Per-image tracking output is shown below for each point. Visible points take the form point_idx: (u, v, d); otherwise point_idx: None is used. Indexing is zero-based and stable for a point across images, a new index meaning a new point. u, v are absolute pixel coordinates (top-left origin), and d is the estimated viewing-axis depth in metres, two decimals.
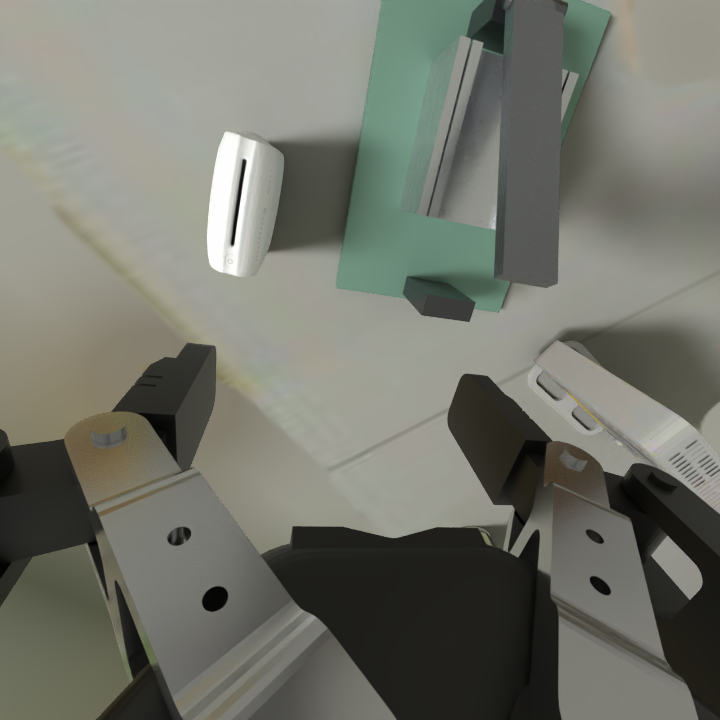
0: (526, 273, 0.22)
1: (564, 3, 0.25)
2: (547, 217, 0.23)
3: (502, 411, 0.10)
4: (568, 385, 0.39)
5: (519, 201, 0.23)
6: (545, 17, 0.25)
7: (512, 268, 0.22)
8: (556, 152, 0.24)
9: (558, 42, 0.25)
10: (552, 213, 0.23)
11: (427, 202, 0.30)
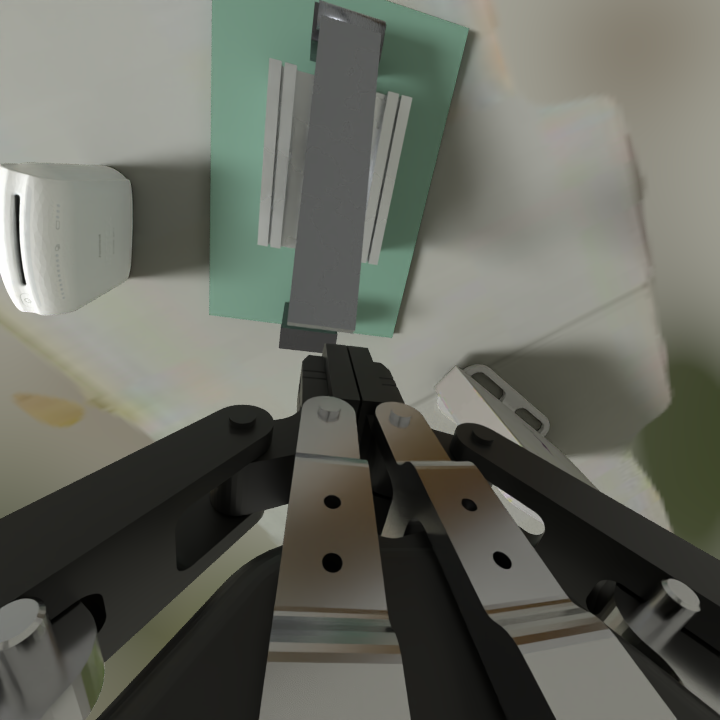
0: (316, 320, 0.21)
1: (381, 23, 0.23)
2: (347, 257, 0.21)
3: (357, 377, 0.10)
4: (454, 417, 0.37)
5: (312, 241, 0.21)
6: (358, 39, 0.23)
7: (299, 315, 0.20)
8: (362, 186, 0.22)
9: (373, 66, 0.23)
10: (353, 253, 0.21)
11: (266, 232, 0.28)
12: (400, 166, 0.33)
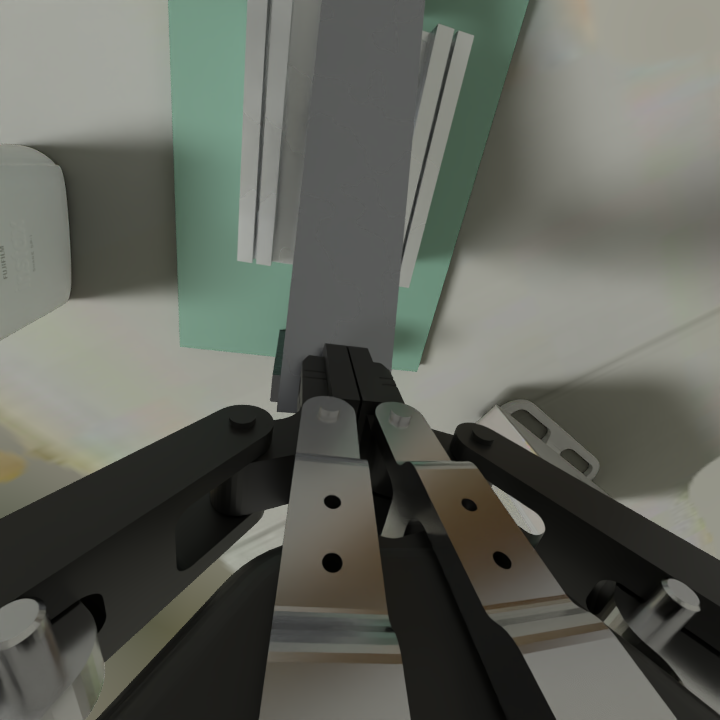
0: None
1: None
2: (375, 300, 0.13)
3: (357, 377, 0.10)
4: None
5: (318, 274, 0.13)
6: None
7: None
8: (400, 180, 0.14)
9: None
10: (385, 292, 0.13)
11: (249, 242, 0.19)
12: None
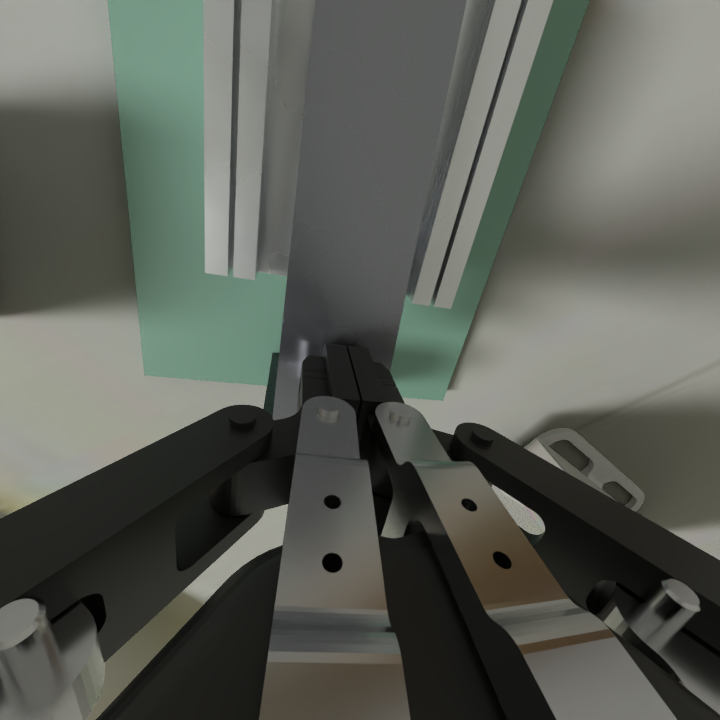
0: None
1: None
2: (372, 343, 0.12)
3: (357, 377, 0.10)
4: None
5: (312, 318, 0.12)
6: None
7: None
8: (415, 201, 0.11)
9: None
10: (383, 335, 0.12)
11: (222, 246, 0.13)
12: None
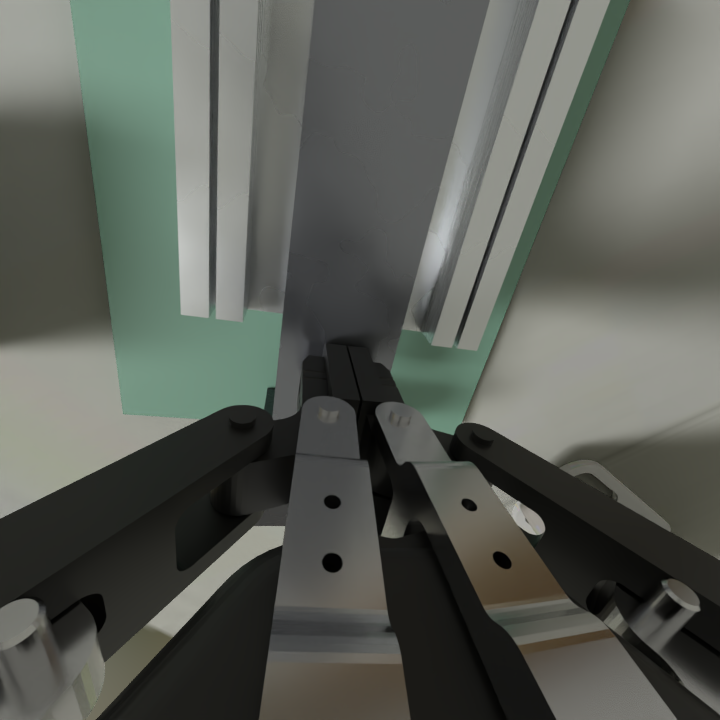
0: None
1: None
2: None
3: (357, 377, 0.10)
4: None
5: (308, 343, 0.12)
6: None
7: None
8: (418, 230, 0.11)
9: None
10: (379, 359, 0.12)
11: (201, 283, 0.10)
12: None
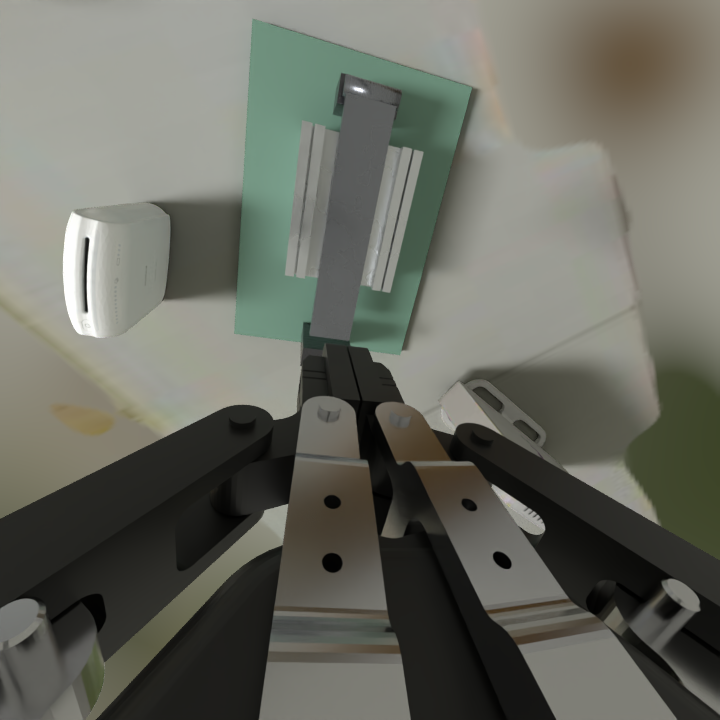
0: (326, 335, 0.35)
1: (397, 97, 0.27)
2: (348, 297, 0.34)
3: (357, 377, 0.10)
4: None
5: (327, 287, 0.33)
6: (376, 114, 0.28)
7: (316, 332, 0.35)
8: (364, 247, 0.32)
9: (385, 141, 0.28)
10: (353, 294, 0.34)
11: (292, 264, 0.32)
12: None
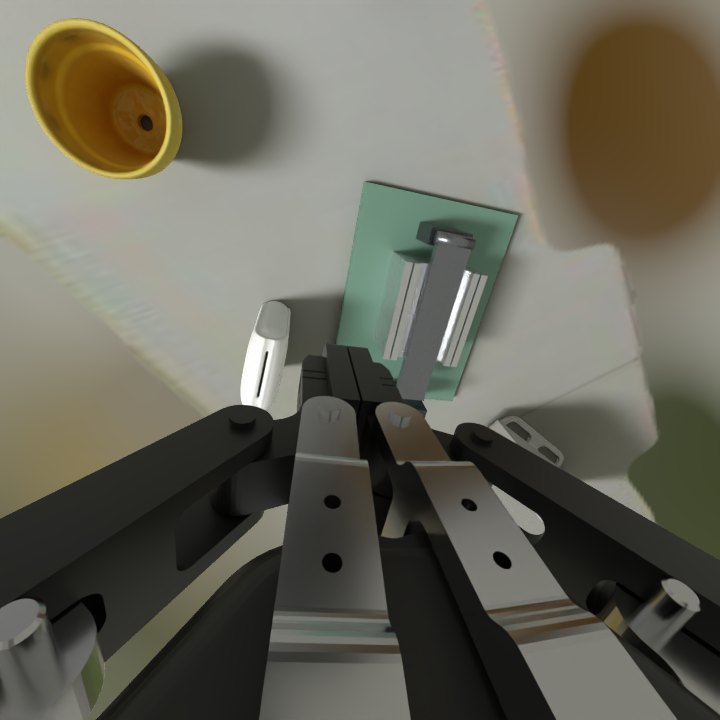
0: (407, 397, 0.47)
1: (472, 244, 0.39)
2: (426, 371, 0.45)
3: (357, 376, 0.10)
4: None
5: (411, 365, 0.45)
6: (457, 255, 0.39)
7: None
8: (440, 338, 0.44)
9: (461, 271, 0.40)
10: (429, 369, 0.45)
11: (389, 351, 0.43)
12: None
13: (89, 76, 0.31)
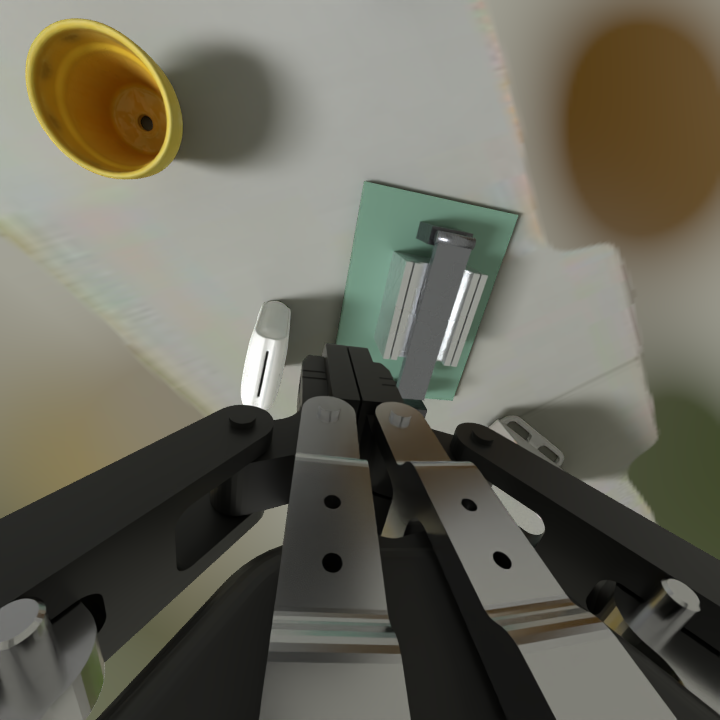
0: (408, 397, 0.47)
1: (473, 244, 0.39)
2: (426, 371, 0.45)
3: (357, 377, 0.10)
4: None
5: (411, 365, 0.45)
6: (457, 255, 0.39)
7: (401, 395, 0.47)
8: (441, 338, 0.44)
9: (461, 271, 0.40)
10: (429, 369, 0.45)
11: (389, 351, 0.43)
12: None
13: (89, 76, 0.31)
